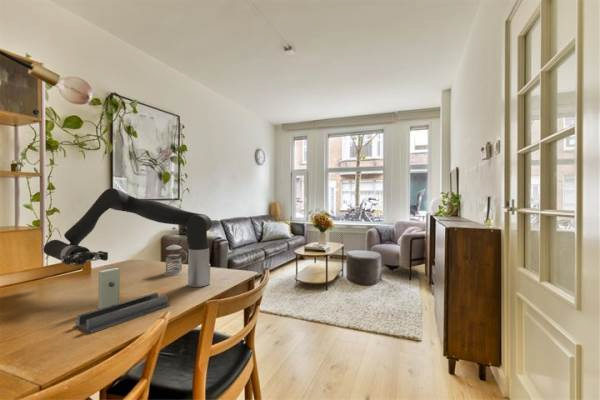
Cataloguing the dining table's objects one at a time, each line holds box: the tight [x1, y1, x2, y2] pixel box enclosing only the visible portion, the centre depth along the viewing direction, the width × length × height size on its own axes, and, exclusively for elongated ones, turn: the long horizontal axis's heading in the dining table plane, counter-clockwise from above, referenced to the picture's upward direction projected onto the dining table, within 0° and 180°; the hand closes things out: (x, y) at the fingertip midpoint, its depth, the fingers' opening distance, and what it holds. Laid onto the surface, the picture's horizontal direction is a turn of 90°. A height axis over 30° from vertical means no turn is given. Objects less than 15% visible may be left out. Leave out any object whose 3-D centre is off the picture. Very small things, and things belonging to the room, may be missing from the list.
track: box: [75, 292, 171, 334], centre depth 97 cm, size 26×10×4 cm, turn 150°
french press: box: [163, 226, 188, 276], centre depth 152 cm, size 10×12×25 cm
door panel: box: [97, 267, 121, 310], centre depth 103 cm, size 6×4×14 cm, turn 150°
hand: (94, 259), depth 109 cm, fingers open, 8 cm apart
